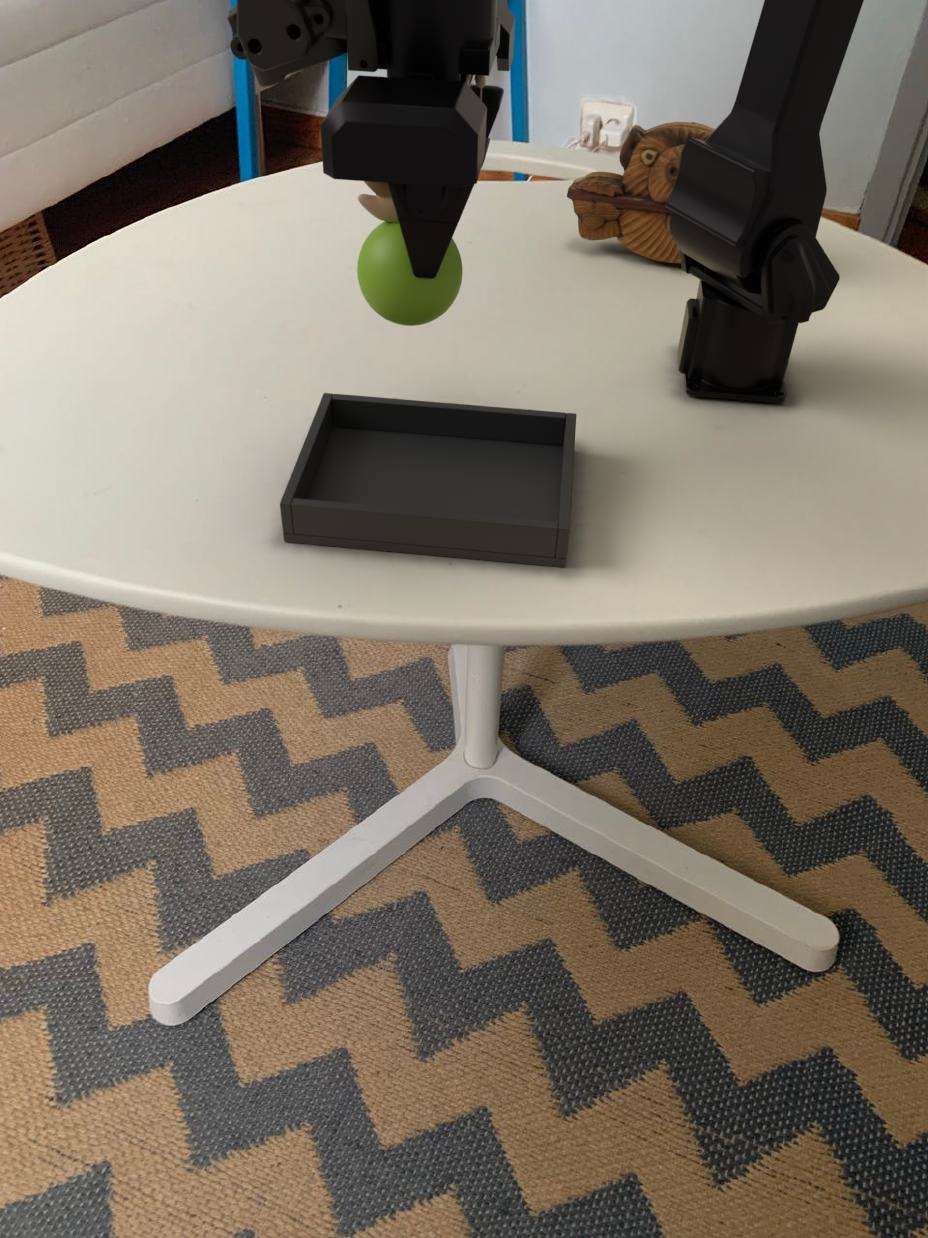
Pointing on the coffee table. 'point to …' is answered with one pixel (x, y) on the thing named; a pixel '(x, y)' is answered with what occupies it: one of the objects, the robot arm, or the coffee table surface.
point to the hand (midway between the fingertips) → (430, 261)
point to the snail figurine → (403, 266)
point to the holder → (434, 480)
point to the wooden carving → (637, 191)
